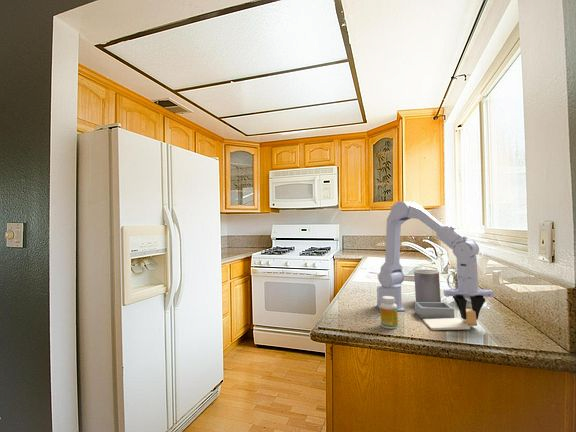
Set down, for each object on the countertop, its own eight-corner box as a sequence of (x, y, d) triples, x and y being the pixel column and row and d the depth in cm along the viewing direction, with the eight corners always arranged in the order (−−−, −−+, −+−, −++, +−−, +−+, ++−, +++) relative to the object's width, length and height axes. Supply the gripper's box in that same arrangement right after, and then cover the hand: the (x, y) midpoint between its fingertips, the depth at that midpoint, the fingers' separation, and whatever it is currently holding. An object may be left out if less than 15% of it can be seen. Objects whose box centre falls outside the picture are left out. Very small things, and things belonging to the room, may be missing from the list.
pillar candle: (427, 299, 127) (425, 265, 128) (446, 304, 118) (444, 268, 119) (410, 302, 124) (408, 267, 124) (428, 308, 115) (426, 270, 115)
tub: (421, 319, 102) (421, 308, 102) (415, 312, 110) (414, 301, 110) (454, 320, 100) (454, 308, 100) (445, 312, 108) (445, 302, 108)
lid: (431, 330, 91) (429, 316, 91) (423, 321, 100) (421, 308, 100) (481, 328, 89) (479, 314, 89) (468, 319, 97) (467, 306, 97)
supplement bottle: (396, 330, 92) (394, 300, 93) (379, 327, 95) (378, 298, 95) (399, 325, 97) (398, 296, 97) (383, 322, 100) (382, 294, 100)
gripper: (448, 279, 91) (450, 322, 91) (498, 279, 89) (500, 323, 88) (440, 275, 98) (442, 315, 98) (486, 275, 96) (488, 316, 95)
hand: (469, 318), depth 93 cm, fingers closed on lid, 3 cm apart
